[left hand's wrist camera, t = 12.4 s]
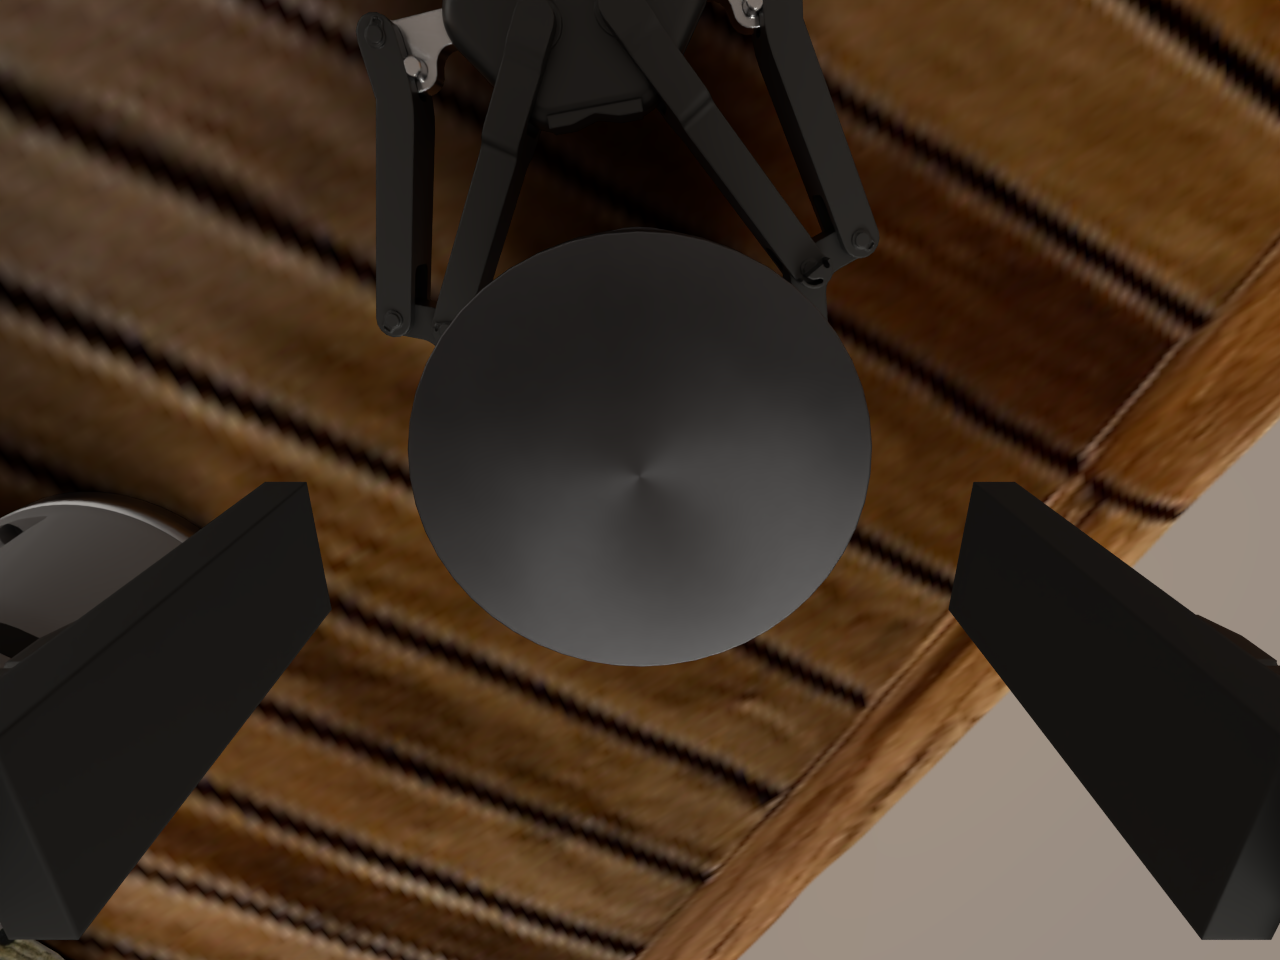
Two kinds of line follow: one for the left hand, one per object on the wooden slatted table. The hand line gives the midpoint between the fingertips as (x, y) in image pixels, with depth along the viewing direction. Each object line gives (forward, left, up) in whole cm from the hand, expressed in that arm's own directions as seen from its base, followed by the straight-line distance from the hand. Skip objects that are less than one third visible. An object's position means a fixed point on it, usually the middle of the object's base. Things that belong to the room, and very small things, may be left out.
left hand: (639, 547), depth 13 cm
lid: (0, 0, -4) cm, 4 cm away
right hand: (+2, -3, -14) cm, 15 cm away
